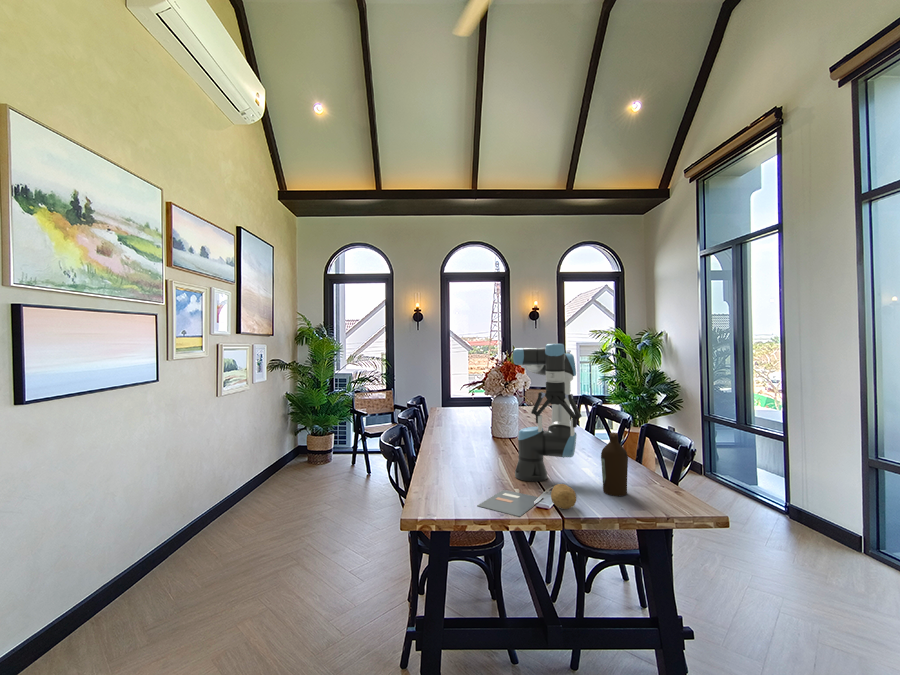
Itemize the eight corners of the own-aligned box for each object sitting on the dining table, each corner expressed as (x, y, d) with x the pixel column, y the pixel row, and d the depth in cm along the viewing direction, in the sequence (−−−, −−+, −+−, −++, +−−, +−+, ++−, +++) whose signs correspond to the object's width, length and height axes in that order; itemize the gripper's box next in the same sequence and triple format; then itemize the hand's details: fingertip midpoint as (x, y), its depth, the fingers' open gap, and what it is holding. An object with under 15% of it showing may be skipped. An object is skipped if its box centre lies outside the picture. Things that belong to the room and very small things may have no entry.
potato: (572, 500, 163) (571, 480, 163) (581, 514, 149) (580, 492, 149) (547, 500, 164) (547, 480, 164) (553, 514, 150) (553, 492, 150)
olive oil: (628, 490, 175) (626, 431, 176) (629, 498, 165) (628, 436, 166) (601, 487, 179) (600, 430, 180) (601, 495, 169) (600, 434, 170)
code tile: (503, 490, 176) (503, 489, 176) (543, 498, 165) (543, 497, 165) (477, 506, 158) (477, 505, 158) (519, 516, 147) (519, 515, 147)
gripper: (523, 380, 170) (523, 431, 170) (583, 384, 156) (584, 439, 156) (530, 379, 176) (530, 428, 176) (588, 382, 162) (589, 435, 163)
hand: (556, 433), depth 166 cm, fingers open, 13 cm apart
